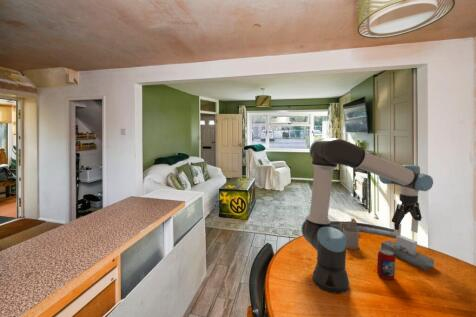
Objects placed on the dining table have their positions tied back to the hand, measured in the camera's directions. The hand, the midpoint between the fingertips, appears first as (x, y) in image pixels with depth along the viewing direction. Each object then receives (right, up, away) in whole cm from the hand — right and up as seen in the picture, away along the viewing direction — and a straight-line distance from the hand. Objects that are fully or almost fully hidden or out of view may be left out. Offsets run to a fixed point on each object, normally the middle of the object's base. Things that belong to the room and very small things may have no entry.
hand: (405, 233), depth 116 cm
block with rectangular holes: (+1, -13, +1) cm, 13 cm away
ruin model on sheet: (-14, -11, +33) cm, 38 cm away
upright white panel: (+1, -13, +1) cm, 13 cm away
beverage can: (-20, -15, -14) cm, 29 cm away
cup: (-22, -13, +15) cm, 29 cm away
